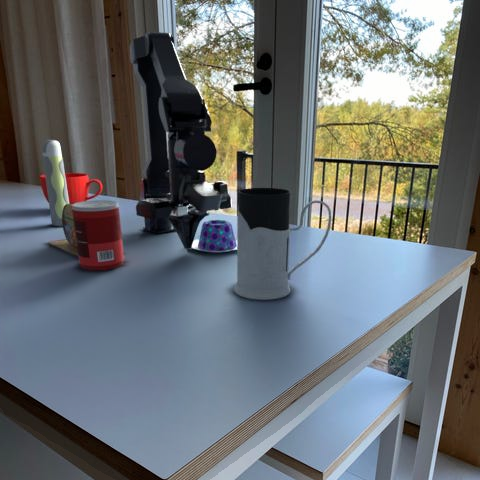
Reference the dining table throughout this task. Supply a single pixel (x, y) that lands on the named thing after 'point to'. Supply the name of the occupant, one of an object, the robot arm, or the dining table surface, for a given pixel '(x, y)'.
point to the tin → (69, 224)
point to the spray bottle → (55, 180)
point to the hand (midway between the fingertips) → (187, 248)
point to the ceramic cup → (74, 187)
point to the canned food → (98, 234)
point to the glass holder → (266, 242)
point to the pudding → (216, 237)
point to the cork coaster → (65, 246)
